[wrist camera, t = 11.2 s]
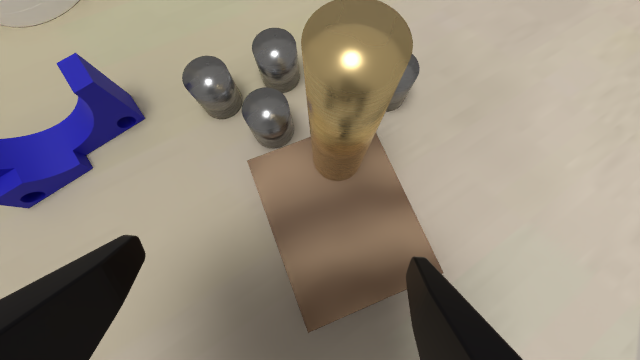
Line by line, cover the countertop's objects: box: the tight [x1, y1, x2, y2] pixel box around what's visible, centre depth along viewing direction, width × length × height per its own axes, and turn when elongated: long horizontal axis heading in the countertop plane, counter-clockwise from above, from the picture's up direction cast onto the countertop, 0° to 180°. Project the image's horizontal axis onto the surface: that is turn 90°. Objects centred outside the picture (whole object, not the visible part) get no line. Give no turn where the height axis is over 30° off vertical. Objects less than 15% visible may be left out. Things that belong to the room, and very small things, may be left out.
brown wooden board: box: [247, 133, 443, 333], centre depth 22 cm, size 14×11×2 cm
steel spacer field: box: [182, 28, 419, 148], centre depth 23 cm, size 9×18×4 cm, turn 112°
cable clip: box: [0, 53, 145, 208], centre depth 21 cm, size 12×4×6 cm, turn 127°
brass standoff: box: [301, 0, 413, 181], centre depth 16 cm, size 4×4×13 cm
